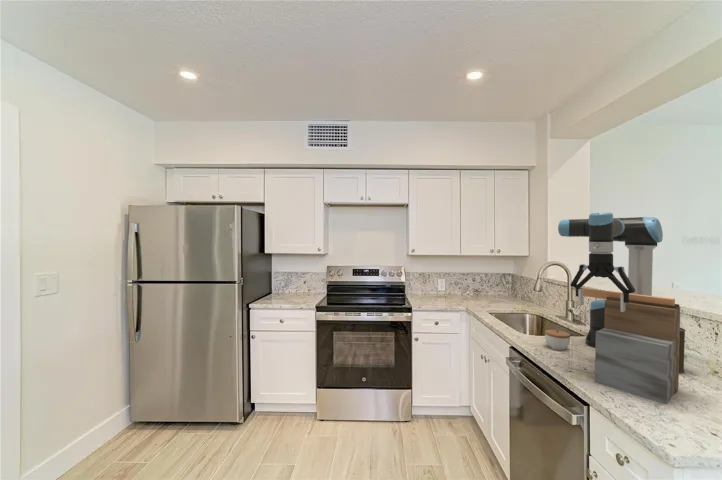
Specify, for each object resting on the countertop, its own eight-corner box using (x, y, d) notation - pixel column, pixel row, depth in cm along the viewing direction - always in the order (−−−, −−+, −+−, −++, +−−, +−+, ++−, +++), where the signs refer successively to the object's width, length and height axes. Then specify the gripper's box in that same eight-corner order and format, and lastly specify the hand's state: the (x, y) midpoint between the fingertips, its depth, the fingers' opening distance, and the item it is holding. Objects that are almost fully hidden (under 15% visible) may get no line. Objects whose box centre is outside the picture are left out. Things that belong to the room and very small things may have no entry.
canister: (647, 361, 143) (648, 316, 143) (679, 366, 138) (680, 320, 138) (654, 370, 134) (655, 322, 134) (689, 376, 129) (690, 326, 129)
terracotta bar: (579, 294, 140) (579, 287, 140) (674, 307, 116) (674, 298, 116) (576, 295, 138) (576, 288, 138) (672, 308, 114) (673, 299, 114)
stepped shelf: (611, 370, 133) (612, 295, 133) (678, 389, 117) (680, 303, 117) (594, 381, 122) (596, 299, 122) (666, 404, 106) (668, 309, 106)
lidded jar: (575, 351, 155) (575, 331, 155) (556, 352, 153) (556, 333, 153) (557, 344, 166) (557, 325, 166) (539, 345, 164) (539, 326, 164)
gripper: (561, 252, 132) (561, 304, 132) (639, 254, 112) (639, 315, 112) (568, 251, 136) (569, 301, 137) (645, 253, 116) (645, 312, 117)
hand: (601, 308), depth 125 cm, fingers open, 13 cm apart
